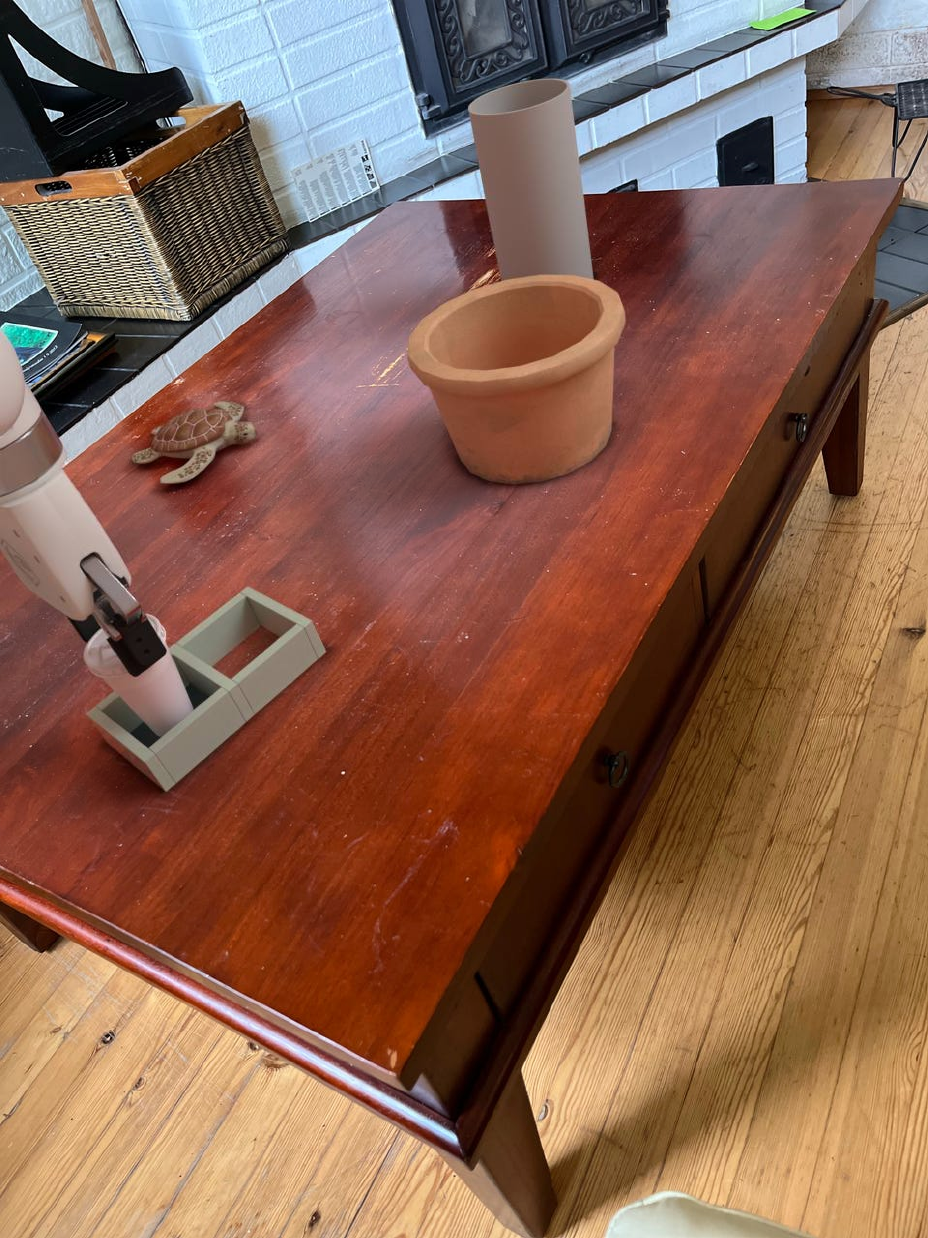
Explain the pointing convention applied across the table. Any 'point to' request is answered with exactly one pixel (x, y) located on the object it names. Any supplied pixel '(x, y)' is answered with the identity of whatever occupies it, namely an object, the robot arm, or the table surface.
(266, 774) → the table surface
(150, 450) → the decorative turtle
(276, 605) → the divided open box
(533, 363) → the pottery
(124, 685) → the smoothie
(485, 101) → the cylinder vase
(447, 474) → the table surface
